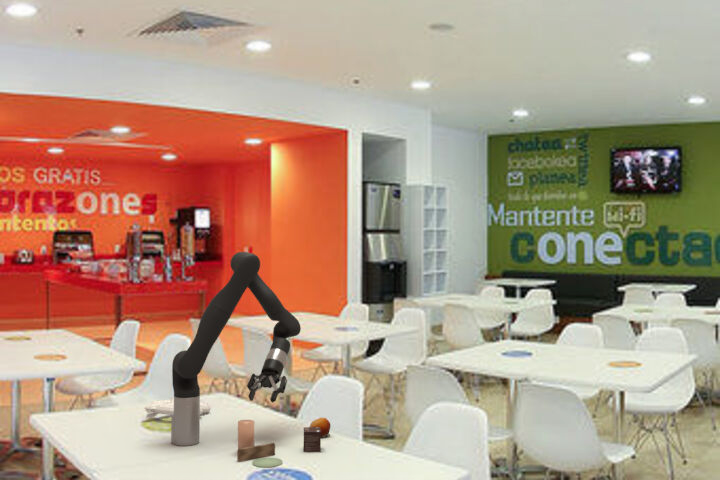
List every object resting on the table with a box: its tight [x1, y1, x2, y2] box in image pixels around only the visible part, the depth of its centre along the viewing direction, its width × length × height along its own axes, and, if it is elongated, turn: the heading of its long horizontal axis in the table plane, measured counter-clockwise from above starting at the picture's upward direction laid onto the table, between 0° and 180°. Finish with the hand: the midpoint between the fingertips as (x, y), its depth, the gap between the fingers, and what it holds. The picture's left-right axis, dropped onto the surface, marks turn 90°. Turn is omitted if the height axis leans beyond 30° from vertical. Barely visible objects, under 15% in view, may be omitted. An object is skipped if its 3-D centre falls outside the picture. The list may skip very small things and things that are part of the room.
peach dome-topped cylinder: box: [237, 419, 255, 449], centre depth 271 cm, size 6×6×11 cm
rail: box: [236, 442, 276, 463], centre depth 265 cm, size 14×1×4 cm, turn 128°
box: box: [303, 426, 322, 453], centre depth 276 cm, size 6×6×7 cm
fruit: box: [309, 417, 331, 438], centre depth 294 cm, size 8×8×8 cm
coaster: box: [251, 456, 283, 469], centre depth 260 cm, size 10×10×1 cm
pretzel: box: [144, 397, 212, 416], centre depth 324 cm, size 28×24×6 cm
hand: (261, 400), depth 282 cm, fingers open, 8 cm apart
